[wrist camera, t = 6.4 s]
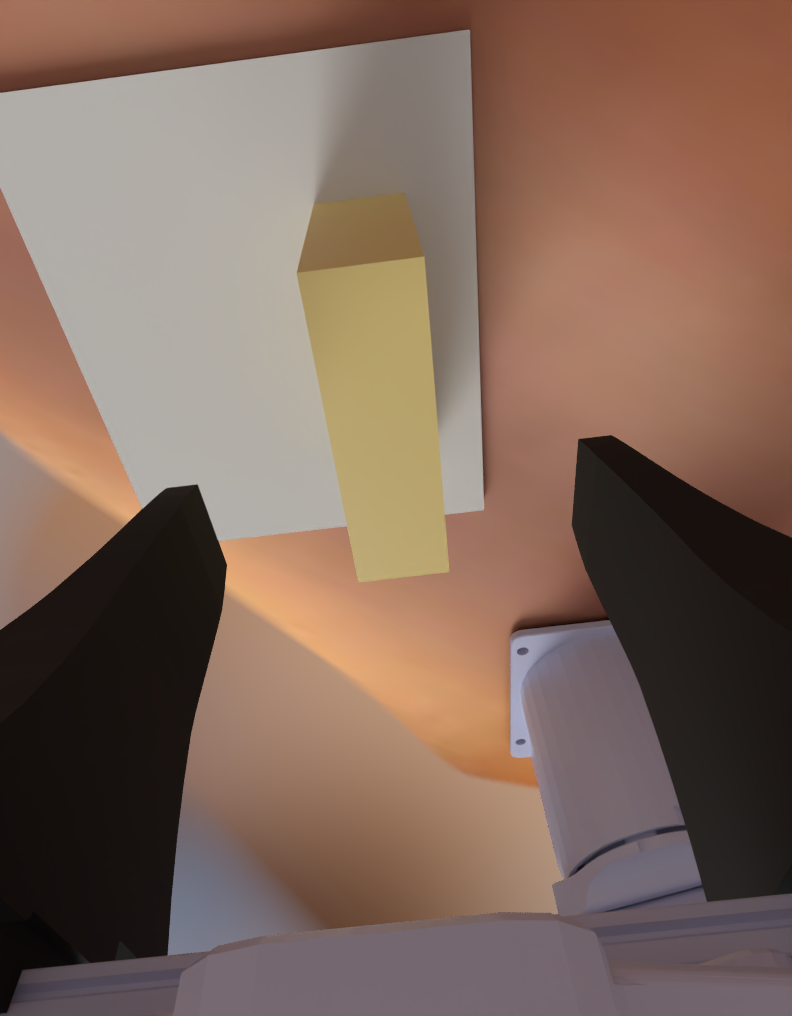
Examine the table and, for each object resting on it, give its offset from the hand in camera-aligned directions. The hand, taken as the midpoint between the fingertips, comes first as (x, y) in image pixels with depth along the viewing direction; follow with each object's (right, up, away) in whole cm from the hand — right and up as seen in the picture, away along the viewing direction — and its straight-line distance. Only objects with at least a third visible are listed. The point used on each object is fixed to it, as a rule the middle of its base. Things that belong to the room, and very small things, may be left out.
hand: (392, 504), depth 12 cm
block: (-1, +5, +7) cm, 8 cm away
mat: (-3, +5, +7) cm, 9 cm away
